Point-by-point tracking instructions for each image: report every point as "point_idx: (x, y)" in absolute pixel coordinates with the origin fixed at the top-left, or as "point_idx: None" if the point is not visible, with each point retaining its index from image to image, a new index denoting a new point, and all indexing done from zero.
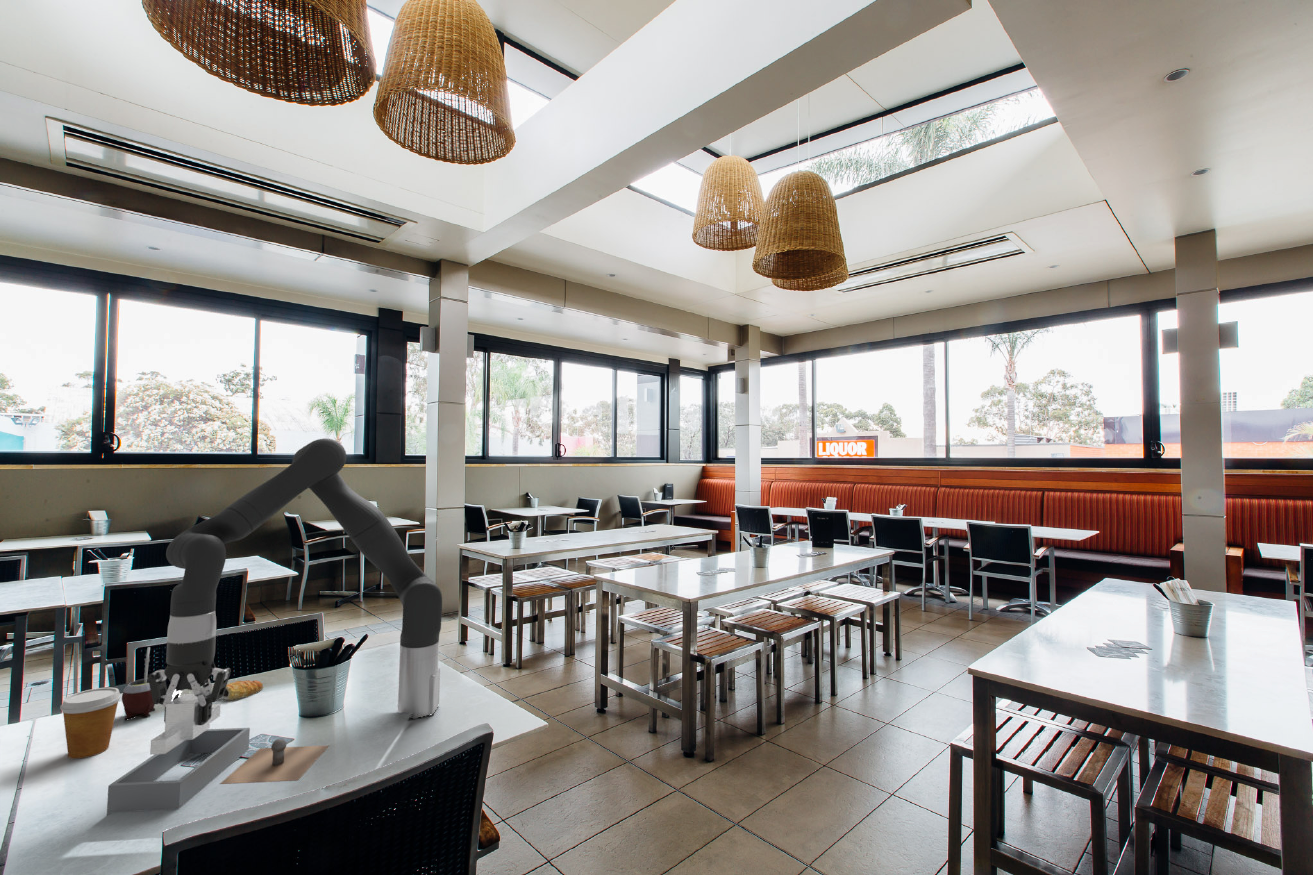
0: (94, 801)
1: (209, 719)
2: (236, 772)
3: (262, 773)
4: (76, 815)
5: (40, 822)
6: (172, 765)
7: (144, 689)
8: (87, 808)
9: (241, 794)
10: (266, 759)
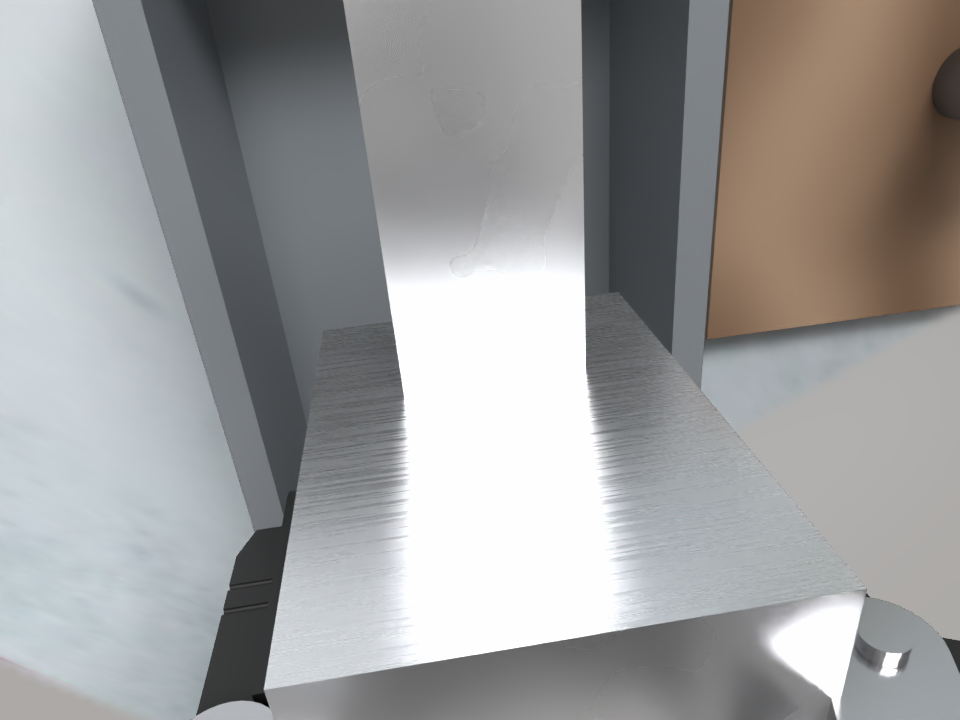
0: (68, 436)
1: (651, 338)
2: (740, 212)
3: (903, 218)
4: (124, 537)
5: (13, 590)
6: (233, 154)
7: None
8: (109, 489)
9: (812, 335)
10: (869, 16)
